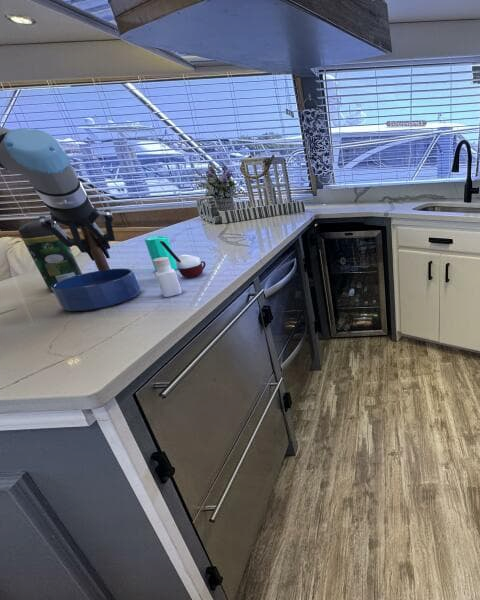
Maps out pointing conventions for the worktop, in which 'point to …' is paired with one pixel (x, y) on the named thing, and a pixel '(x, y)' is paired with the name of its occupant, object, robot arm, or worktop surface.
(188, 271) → the cocoa
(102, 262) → the brown wooden pestle
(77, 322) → the worktop surface
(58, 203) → the robot arm
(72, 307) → the bowl
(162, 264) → the salt shaker
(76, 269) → the coffee jar
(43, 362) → the worktop surface
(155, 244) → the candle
